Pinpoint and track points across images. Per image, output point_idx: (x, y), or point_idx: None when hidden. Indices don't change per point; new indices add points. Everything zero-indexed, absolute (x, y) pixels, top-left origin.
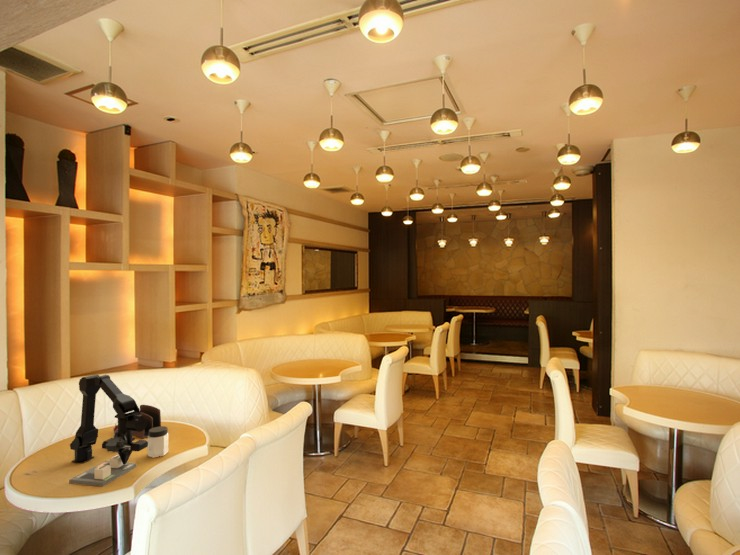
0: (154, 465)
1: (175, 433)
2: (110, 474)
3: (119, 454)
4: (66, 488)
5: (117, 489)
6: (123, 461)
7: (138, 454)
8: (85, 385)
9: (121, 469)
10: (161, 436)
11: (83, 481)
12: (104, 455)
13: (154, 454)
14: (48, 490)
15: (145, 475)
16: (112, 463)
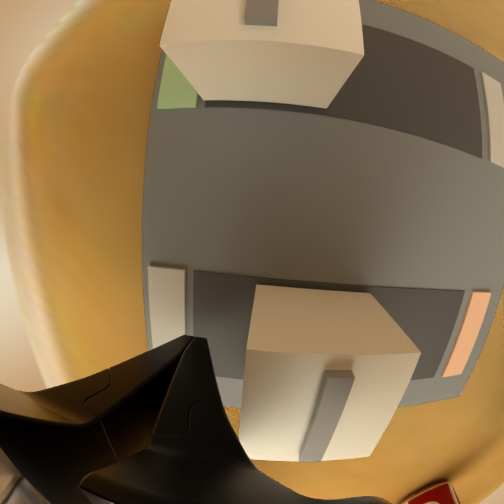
0: (70, 379)
1: None
2: (203, 95)
3: (215, 431)
4: (441, 4)
5: (68, 26)
6: (179, 348)
7: (300, 493)
8: None
9: (192, 268)
10: None
11: (395, 9)
12: (472, 439)
13: None
14: (495, 16)
15: (14, 233)
16: (345, 314)
